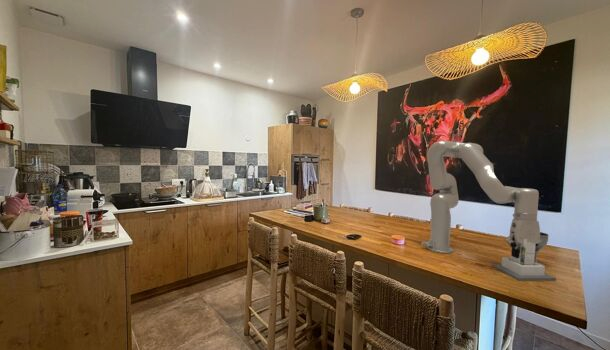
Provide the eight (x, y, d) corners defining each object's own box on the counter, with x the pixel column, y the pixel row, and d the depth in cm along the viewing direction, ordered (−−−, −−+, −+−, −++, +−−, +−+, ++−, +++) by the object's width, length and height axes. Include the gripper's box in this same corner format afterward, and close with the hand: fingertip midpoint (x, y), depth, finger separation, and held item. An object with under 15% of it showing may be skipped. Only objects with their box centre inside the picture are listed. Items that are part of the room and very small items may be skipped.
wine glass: (548, 268, 114) (550, 236, 113) (525, 264, 118) (527, 233, 118) (543, 262, 121) (545, 232, 120) (522, 259, 125) (524, 229, 124)
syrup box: (509, 266, 112) (511, 234, 111) (521, 266, 112) (523, 234, 111) (521, 272, 106) (523, 238, 105) (534, 271, 106) (536, 238, 106)
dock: (518, 280, 102) (519, 268, 101) (491, 266, 116) (492, 255, 115) (555, 280, 102) (556, 268, 102) (524, 266, 116) (525, 255, 116)
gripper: (513, 218, 104) (510, 260, 105) (553, 218, 104) (549, 260, 105) (499, 214, 111) (496, 253, 112) (535, 215, 112) (533, 254, 113)
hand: (522, 256), depth 109 cm, fingers closed on syrup box, 5 cm apart
